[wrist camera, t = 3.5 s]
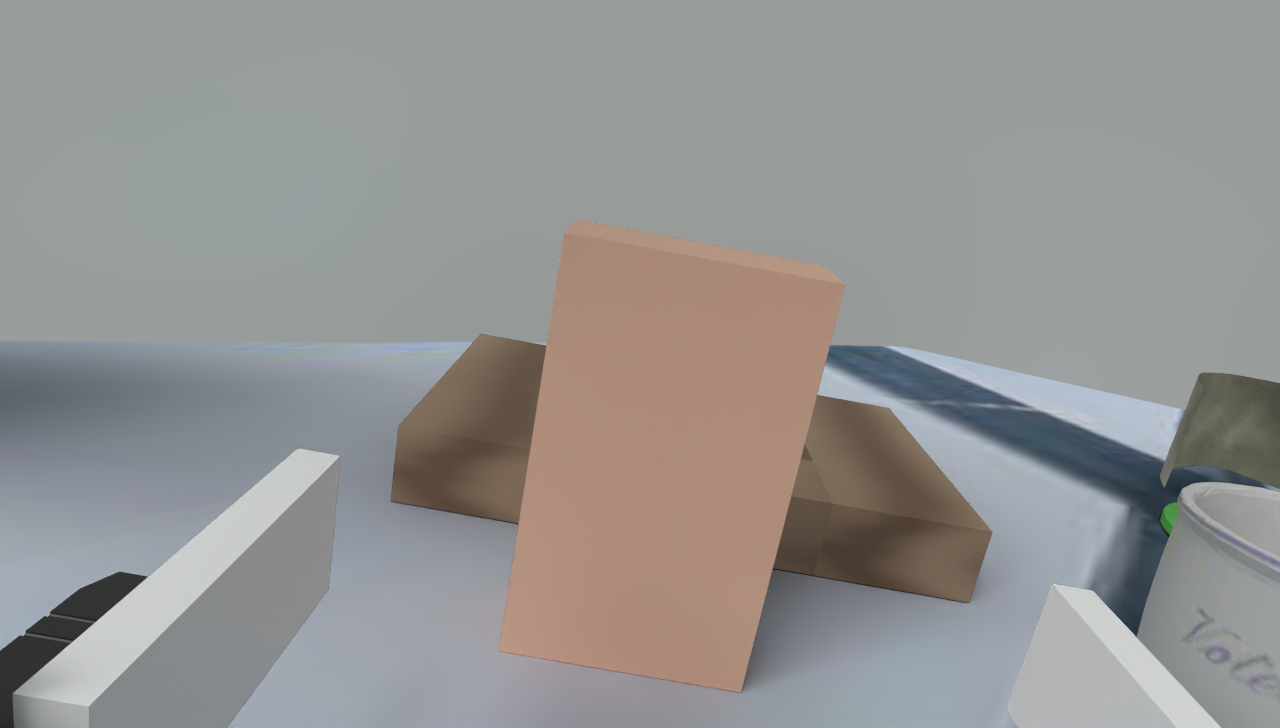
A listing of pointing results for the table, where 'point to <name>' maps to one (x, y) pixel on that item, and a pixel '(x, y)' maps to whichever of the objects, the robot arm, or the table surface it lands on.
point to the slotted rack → (819, 506)
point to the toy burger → (1228, 431)
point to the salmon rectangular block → (664, 452)
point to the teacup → (1221, 603)
